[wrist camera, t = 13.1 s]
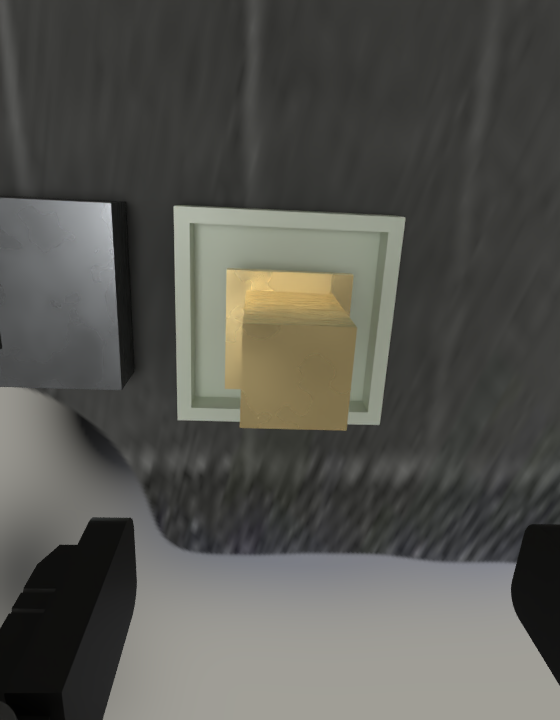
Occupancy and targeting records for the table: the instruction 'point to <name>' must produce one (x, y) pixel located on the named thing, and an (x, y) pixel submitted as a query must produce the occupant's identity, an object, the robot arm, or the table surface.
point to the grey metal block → (64, 294)
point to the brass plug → (290, 347)
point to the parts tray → (279, 252)
